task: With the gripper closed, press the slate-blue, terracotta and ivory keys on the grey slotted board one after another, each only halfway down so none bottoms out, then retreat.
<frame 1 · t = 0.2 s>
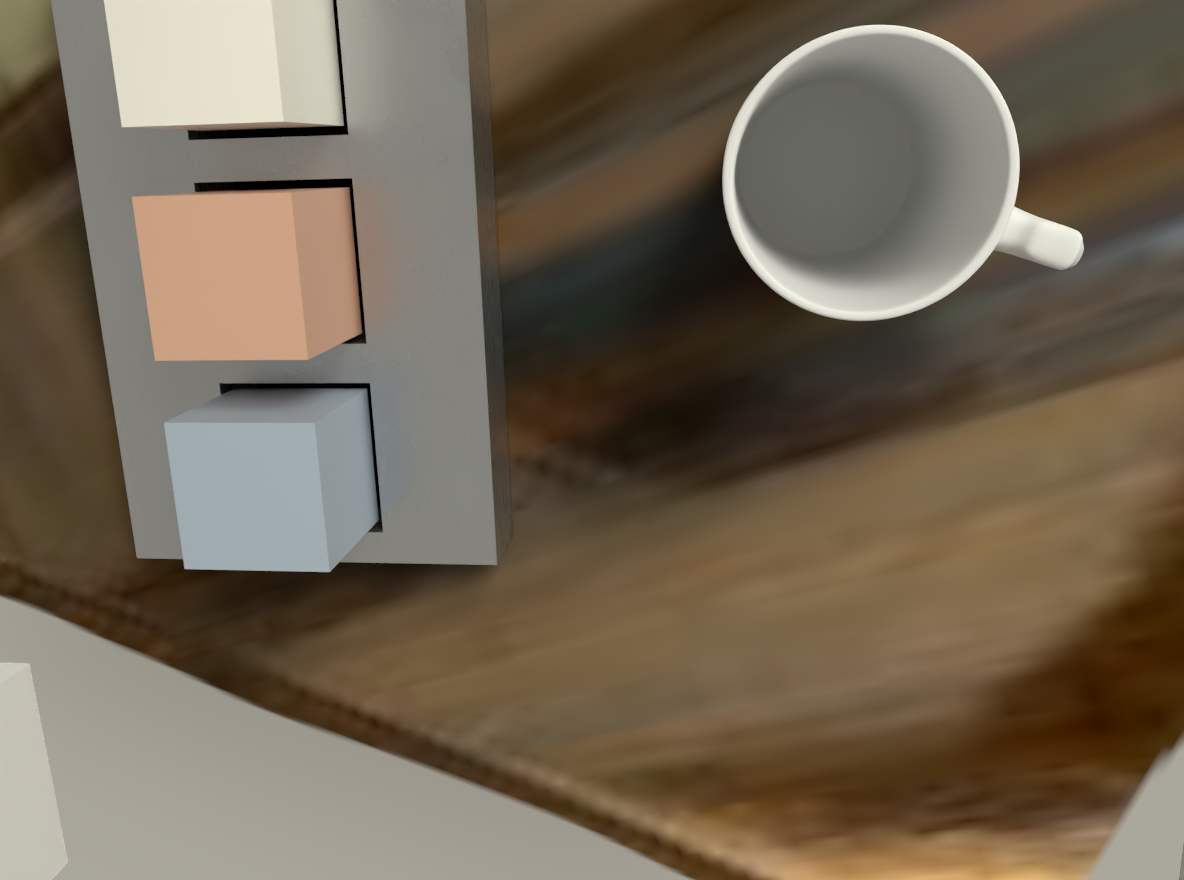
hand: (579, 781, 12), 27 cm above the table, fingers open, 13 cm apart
slate key: (279, 475, 36), point 5 cm above the table, slide at 0.0 cm
terracotta key: (256, 270, 34), point 5 cm above the table, slide at 0.0 cm
ivory key: (230, 42, 32), point 5 cm above the table, slide at 0.0 cm
mug: (865, 186, 36), on the table
grey slotted board: (313, 255, 39), on the table
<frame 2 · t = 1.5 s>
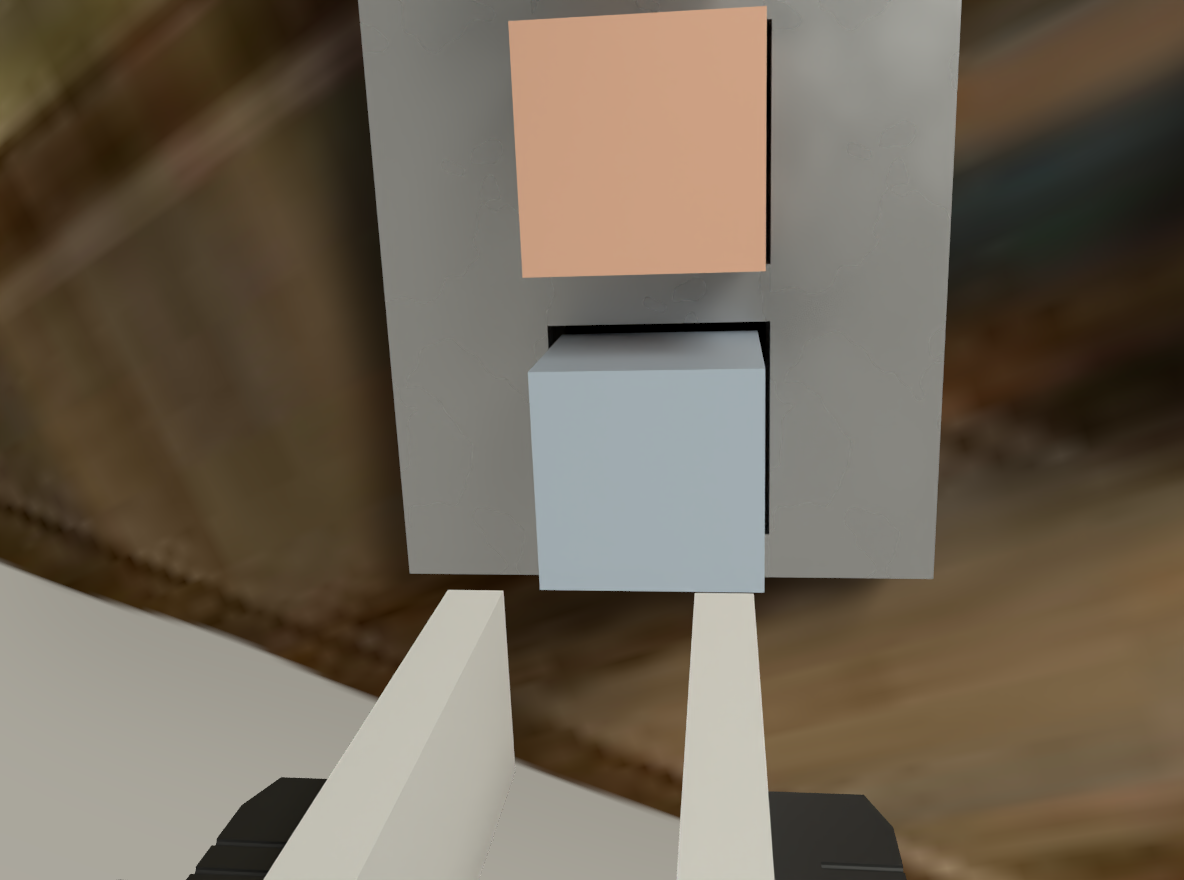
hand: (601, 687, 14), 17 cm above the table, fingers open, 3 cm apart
slate key: (654, 452, 25), point 5 cm above the table, slide at 0.0 cm
terracotta key: (647, 149, 23), point 5 cm above the table, slide at 0.0 cm
grey slotted board: (660, 151, 28), on the table
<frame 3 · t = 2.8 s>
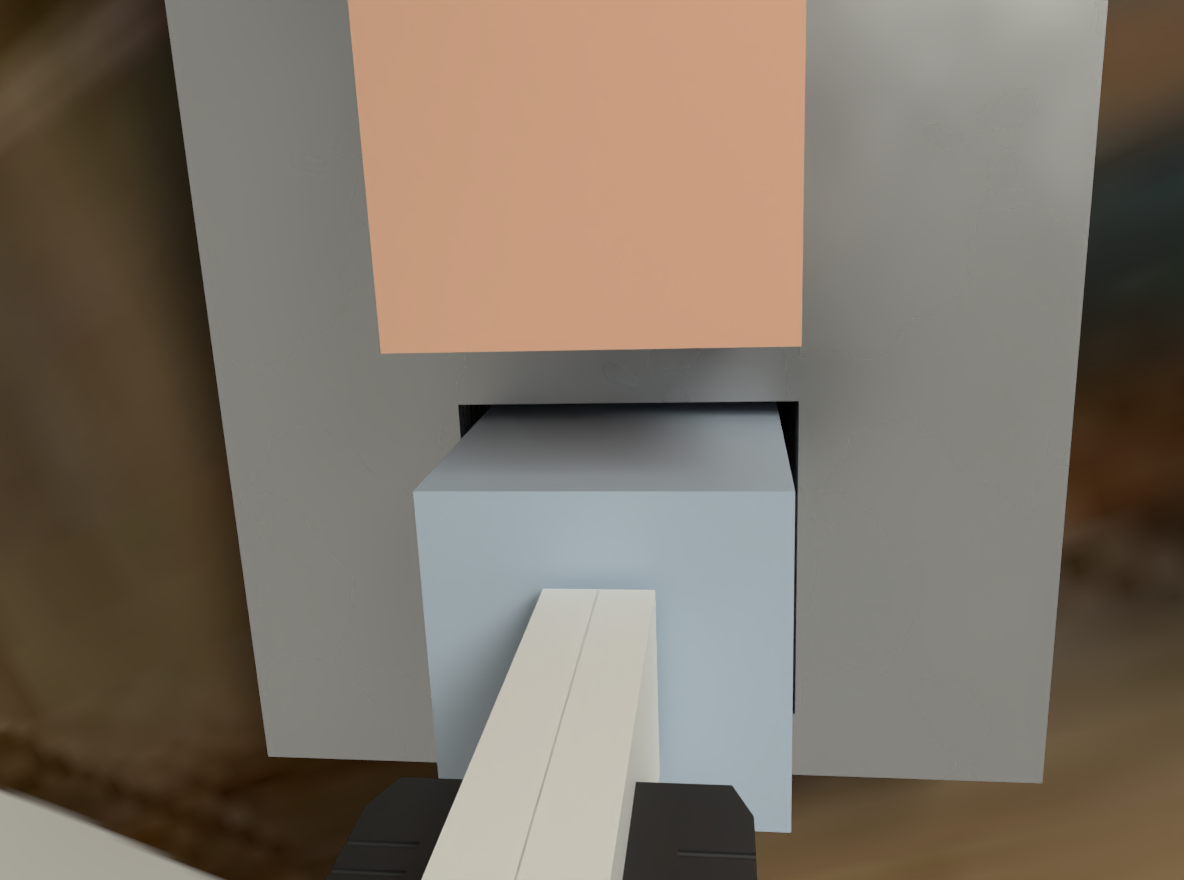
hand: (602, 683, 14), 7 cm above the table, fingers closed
slate key: (623, 591, 17), point 4 cm above the table, slide at 0.8 cm
terracotta key: (601, 133, 14), point 5 cm above the table, slide at 0.0 cm
grey slotted board: (632, 138, 19), on the table
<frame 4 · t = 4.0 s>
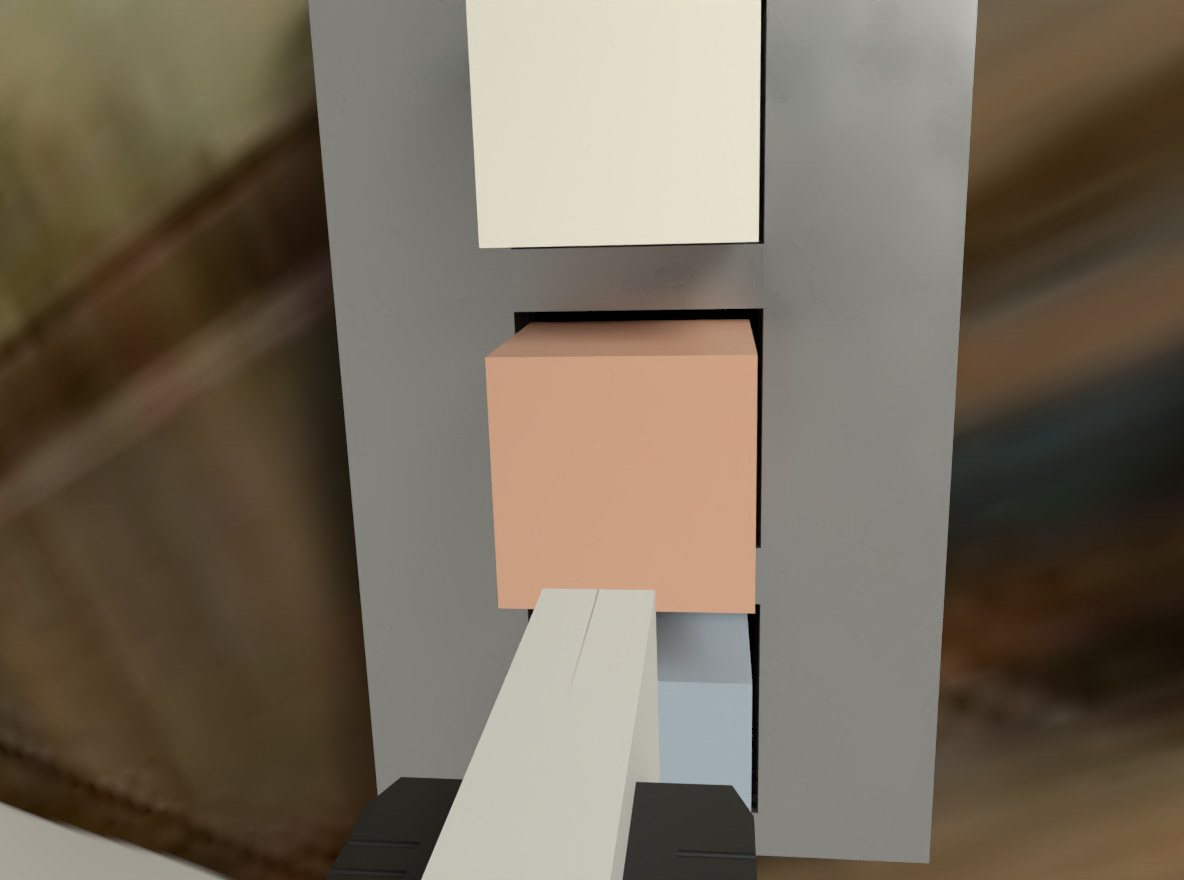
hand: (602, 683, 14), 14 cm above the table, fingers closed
slate key: (641, 728, 25), point 4 cm above the table, slide at 1.0 cm
terracotta key: (632, 453, 22), point 5 cm above the table, slide at 0.0 cm
ivory key: (625, 107, 20), point 5 cm above the table, slide at 0.0 cm
grey slotted board: (647, 404, 27), on the table
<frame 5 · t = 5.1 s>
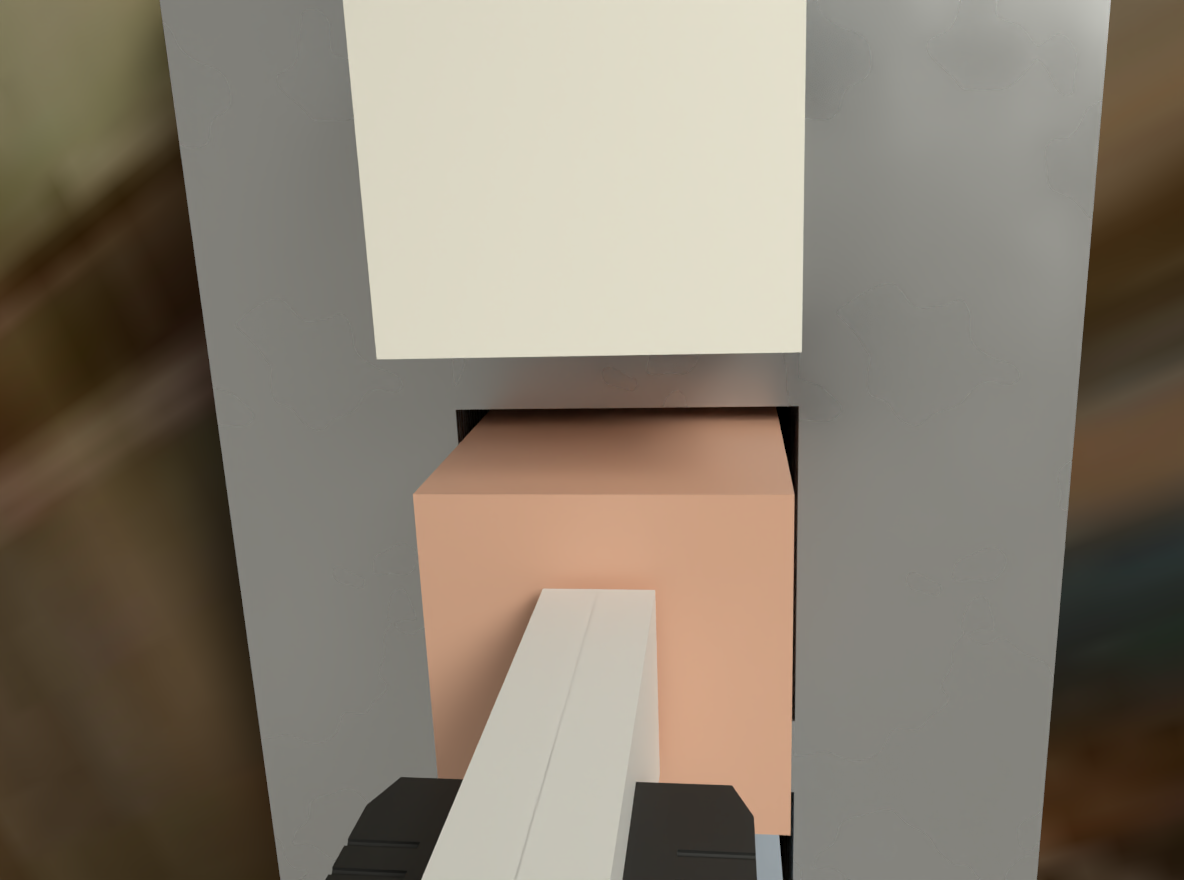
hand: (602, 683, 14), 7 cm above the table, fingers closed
terracotta key: (623, 594, 17), point 4 cm above the table, slide at 0.9 cm, touching gripper
ivory key: (600, 136, 14), point 5 cm above the table, slide at 0.0 cm
grey slotted board: (642, 510, 20), on the table
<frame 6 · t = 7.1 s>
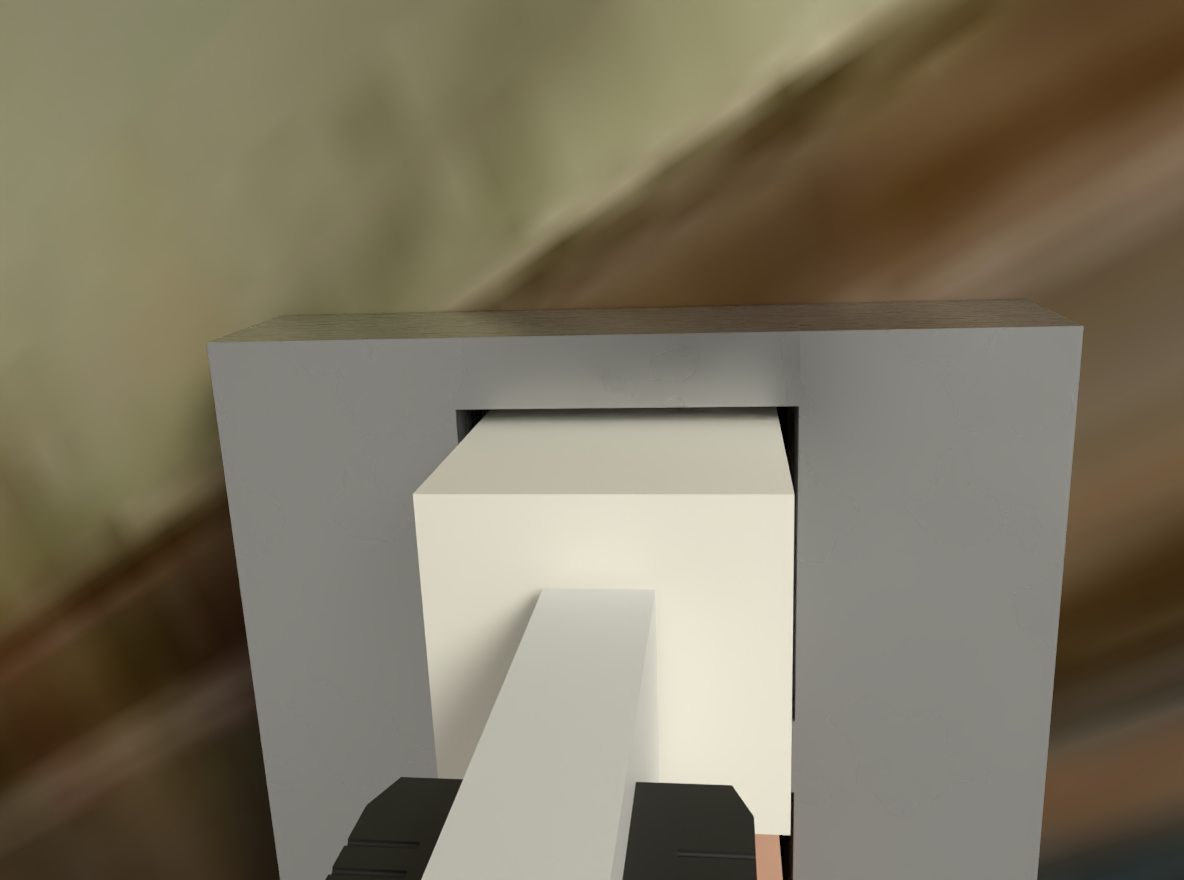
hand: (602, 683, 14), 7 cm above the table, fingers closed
ivory key: (623, 594, 17), point 4 cm above the table, slide at 0.9 cm, touching gripper
grey slotted board: (650, 819, 22), on the table
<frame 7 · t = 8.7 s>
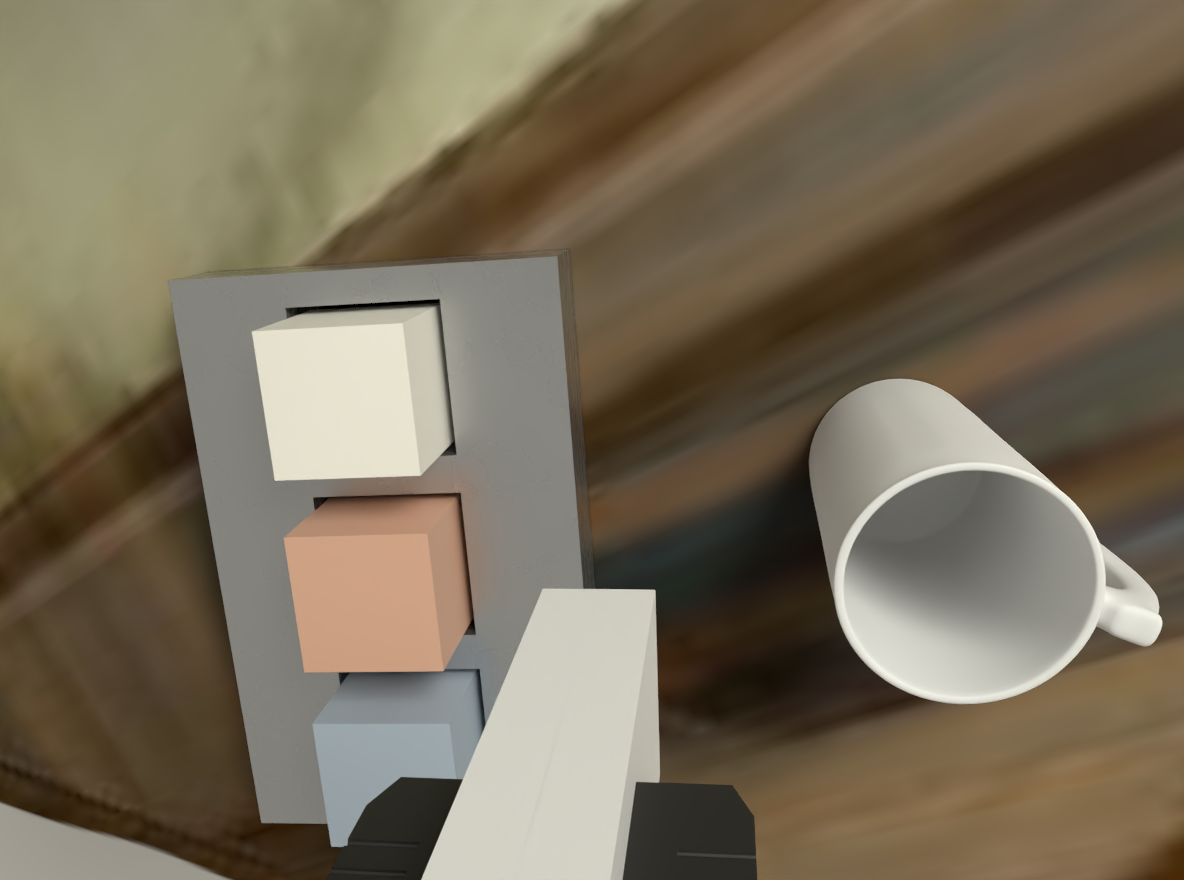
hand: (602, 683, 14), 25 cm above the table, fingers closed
slate key: (409, 748, 39), point 4 cm above the table, slide at 1.0 cm
terracotta key: (387, 576, 38), point 4 cm above the table, slide at 1.0 cm
ivory key: (362, 388, 36), point 4 cm above the table, slide at 1.0 cm
mug: (935, 472, 38), on the table
grey slotted board: (417, 538, 41), on the table
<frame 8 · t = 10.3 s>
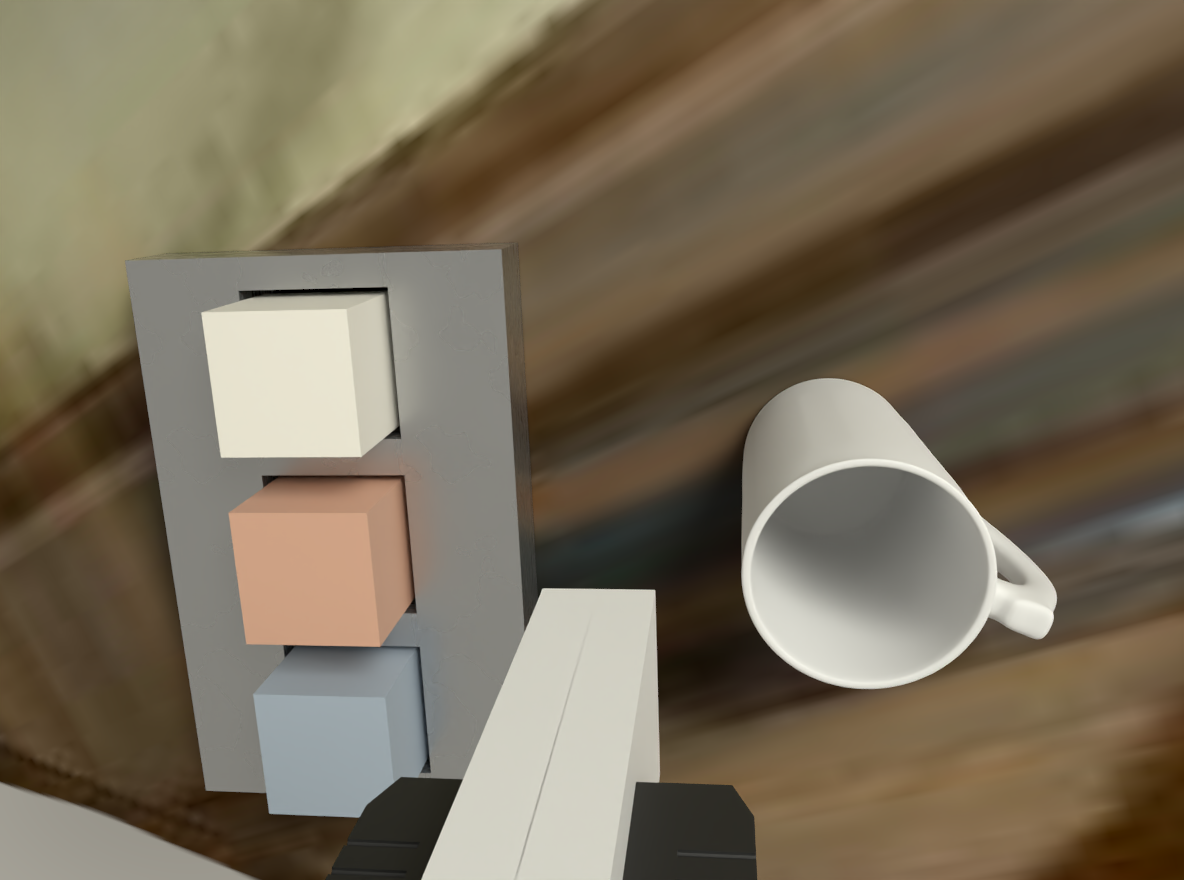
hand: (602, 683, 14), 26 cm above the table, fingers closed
slate key: (349, 721, 41), point 4 cm above the table, slide at 1.0 cm
terracotta key: (330, 554, 39), point 4 cm above the table, slide at 1.0 cm
ivory key: (310, 370, 37), point 4 cm above the table, slide at 1.0 cm
mug: (864, 469, 40), on the table
grey slotted board: (365, 519, 43), on the table
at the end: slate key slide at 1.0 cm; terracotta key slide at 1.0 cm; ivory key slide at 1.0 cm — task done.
